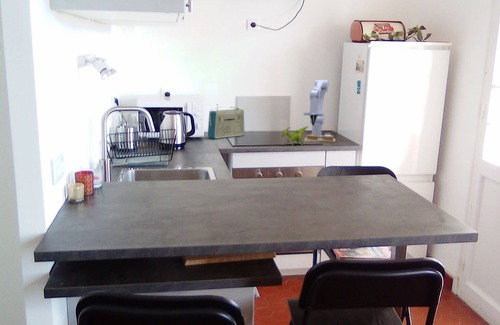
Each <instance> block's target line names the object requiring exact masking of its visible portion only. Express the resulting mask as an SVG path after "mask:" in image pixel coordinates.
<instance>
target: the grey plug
mask: <svg viewBox="0 0 500 325" xmlns="http://www.w3.org/2000/svg"><path fill="white" fill-rule="evenodd" d="M324 135H325V137H331V135H332V133H330V132H325V133H324Z"/></svg>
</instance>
